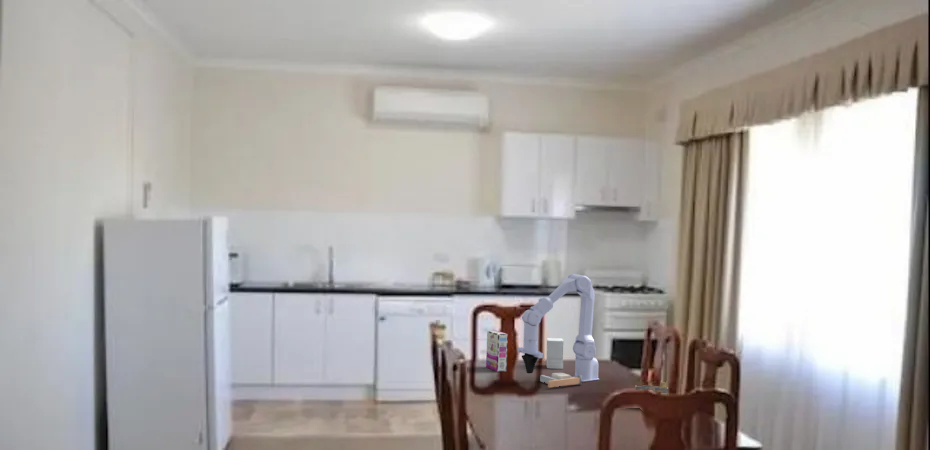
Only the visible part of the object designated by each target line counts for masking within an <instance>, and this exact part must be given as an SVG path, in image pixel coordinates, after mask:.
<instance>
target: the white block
mask: <svg viewBox="0 0 930 450" xmlns="http://www.w3.org/2000/svg"><path fill="white" fill-rule="evenodd" d="M551 377H552V378H555V379H558V380H560V379H568V378H571V377H572V376H571V374H568V373H565V372H553V373H551Z"/></svg>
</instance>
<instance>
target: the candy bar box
mask: <svg viewBox="0 0 930 450" xmlns="http://www.w3.org/2000/svg"><path fill="white" fill-rule="evenodd" d="M486 333H487V334H486V354H485V355H486V359H485V367H486V369H489V370H492V371H494V372H497V373H501V372H502V373H503V372H507V368H508V367H507V365H508V343H509V342H508V338H509V334H508V333H505V332H502V331H499V330H487V332H486Z"/></svg>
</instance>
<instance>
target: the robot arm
mask: <svg viewBox="0 0 930 450" xmlns="http://www.w3.org/2000/svg"><path fill="white" fill-rule="evenodd" d="M569 292H576V293H577V294H578V295H579V296H580V297H581V298H580V300H581V301H580V313H579V328H578V334H577V336H576V337H575V341H574V343H573V346H572V351H573V353H574V354H575V358H574V359H575V361H574V362H575V363H574V364H575V365H574V375H573V377H574V378H576V377H578V375H582V377H581V383H582V382H583V383H584V382H585V383H586V382H590V381H591V382H592V381H599V380H600V378H599V361H598V359H597V358H596V357H595V356H596V354H597V349H596V345H595V344H596V342H595V340H594V338H593V327H594V326H593V323H594V310H595V297H596V296H595V295H596V293H595V290H594V288H593V285H592V280H591V279H590V278H589V277H588V276H586V275H584V274H583V275H581V274H578V273H570V274H569V275H568V276H567V277H565V278H564V279H563V281H562V283H560V284H559V285H558V286H557V287H556V288H555V289H554V290H553V292H551V293H550V294H549V295H548V296H547V297H544V296H543V297H540V298H538V301H537V302H536V303H535V304H534V305H533V306H530V307H529V309H527V310H525V311H524V312H523V315H522V316H521V320H522V321H523V324H524V326H523V346H521V347H517V353H521V354H523V355H521V359H522V361H523V363H524V367H525V372H526V373H527V374H533V373H534V369H535V366H536V363H537V362H538V360H539V359H544V353H543V352H541V351H539V350H538V348H539V347H538V344H539V324H540V323H541V321H542V319H543V317H544V316H546V314H548V312H550V311H551V310H552V309H553V307H554V303H555V302H557V301H558V300H559V299H561V297H563V296H565V295H566V294H567V293H569Z"/></svg>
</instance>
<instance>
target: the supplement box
mask: <svg viewBox="0 0 930 450" xmlns="http://www.w3.org/2000/svg"><path fill="white" fill-rule="evenodd" d="M564 341H565V340H564V339H563V338H561V337H560V338H557V337H555V338H554V337H547V338H546V361H545V362H546V364H545V365H546V369H553V370H554V369H558V370H562V369H564Z"/></svg>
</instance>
